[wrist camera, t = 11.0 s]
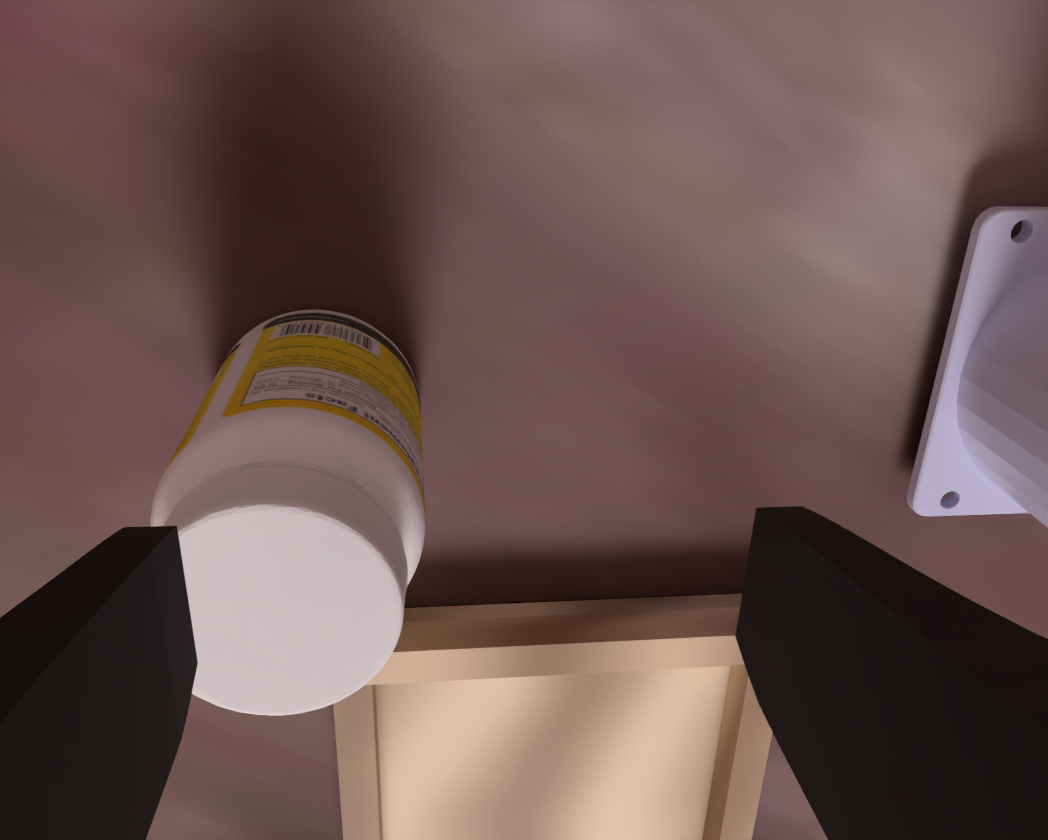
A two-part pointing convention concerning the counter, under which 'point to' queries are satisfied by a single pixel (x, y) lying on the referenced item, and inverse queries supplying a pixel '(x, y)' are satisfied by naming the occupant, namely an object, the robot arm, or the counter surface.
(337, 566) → the supplement bottle
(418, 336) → the counter surface
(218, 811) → the counter surface
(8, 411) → the counter surface
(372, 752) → the tray
